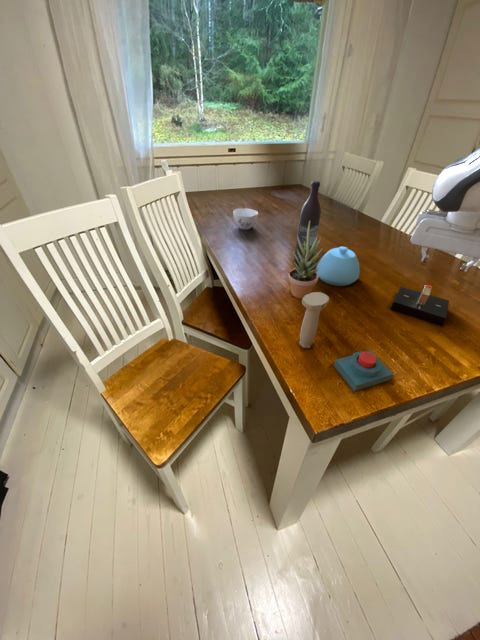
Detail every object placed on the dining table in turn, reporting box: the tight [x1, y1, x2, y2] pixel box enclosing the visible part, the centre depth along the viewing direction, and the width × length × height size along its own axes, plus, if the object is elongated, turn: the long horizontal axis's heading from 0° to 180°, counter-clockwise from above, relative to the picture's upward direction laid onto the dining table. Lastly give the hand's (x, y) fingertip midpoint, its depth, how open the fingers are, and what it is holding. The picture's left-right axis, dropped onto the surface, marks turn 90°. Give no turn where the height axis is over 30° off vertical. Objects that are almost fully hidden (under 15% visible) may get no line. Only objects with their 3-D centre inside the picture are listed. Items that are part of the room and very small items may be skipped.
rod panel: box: [390, 286, 450, 327], centre depth 85 cm, size 14×11×3 cm
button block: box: [333, 350, 394, 392], centre depth 64 cm, size 10×8×4 cm
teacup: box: [232, 207, 259, 230], centre depth 138 cm, size 15×12×8 cm
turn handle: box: [417, 284, 433, 306], centre depth 83 cm, size 6×2×4 cm, turn 145°
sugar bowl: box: [315, 246, 361, 287], centre depth 97 cm, size 15×15×12 cm
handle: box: [299, 291, 330, 349], centre depth 68 cm, size 5×6×15 cm
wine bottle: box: [293, 180, 322, 267], centre depth 100 cm, size 7×7×30 cm
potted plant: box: [288, 221, 325, 299], centre depth 84 cm, size 10×10×25 cm
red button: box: [358, 351, 377, 368], centre depth 63 cm, size 4×4×2 cm
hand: (442, 266), depth 76 cm, fingers open, 8 cm apart
